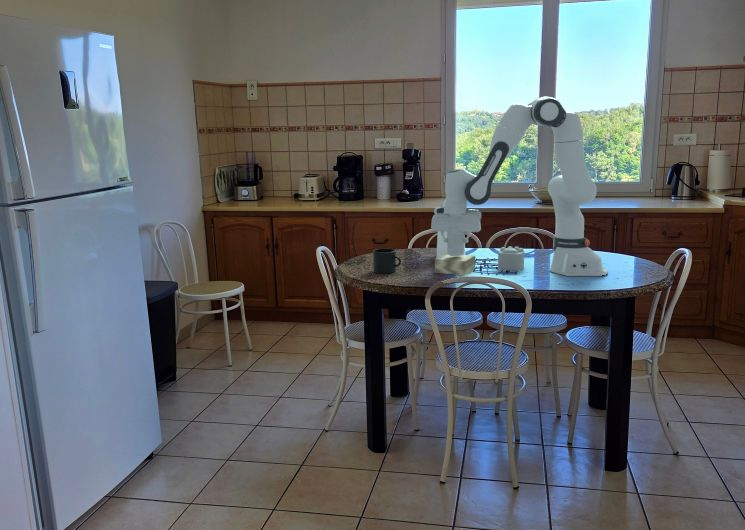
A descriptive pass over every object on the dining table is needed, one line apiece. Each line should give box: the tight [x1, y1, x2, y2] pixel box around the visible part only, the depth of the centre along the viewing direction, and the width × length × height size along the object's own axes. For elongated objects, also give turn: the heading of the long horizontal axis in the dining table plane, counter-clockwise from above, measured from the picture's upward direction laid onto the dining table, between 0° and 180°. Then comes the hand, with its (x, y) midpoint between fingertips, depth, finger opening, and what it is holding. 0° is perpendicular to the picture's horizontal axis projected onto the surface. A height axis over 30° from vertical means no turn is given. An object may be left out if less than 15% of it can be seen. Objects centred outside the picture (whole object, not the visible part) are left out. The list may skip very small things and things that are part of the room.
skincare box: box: [447, 227, 465, 256], centre depth 270 cm, size 6×4×12 cm
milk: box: [435, 201, 466, 259], centre depth 299 cm, size 12×12×26 cm
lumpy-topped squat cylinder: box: [497, 245, 525, 272], centre depth 276 cm, size 10×13×9 cm
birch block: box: [434, 254, 476, 276], centre depth 272 cm, size 13×13×6 cm
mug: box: [372, 248, 402, 275], centre depth 271 cm, size 9×12×9 cm
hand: (455, 242), depth 270 cm, fingers open, 7 cm apart
